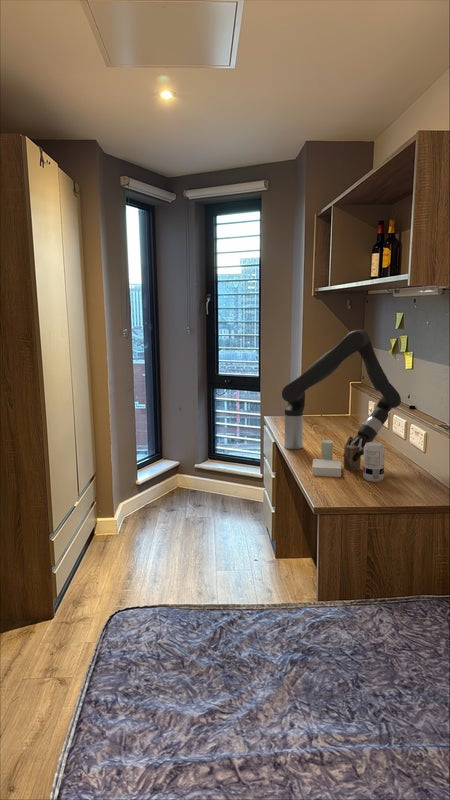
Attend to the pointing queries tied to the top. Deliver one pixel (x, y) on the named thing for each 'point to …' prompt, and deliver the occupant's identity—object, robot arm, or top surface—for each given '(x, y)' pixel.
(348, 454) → the walnut block
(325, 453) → the sage green block
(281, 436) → the top surface
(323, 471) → the base block
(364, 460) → the supplement can
